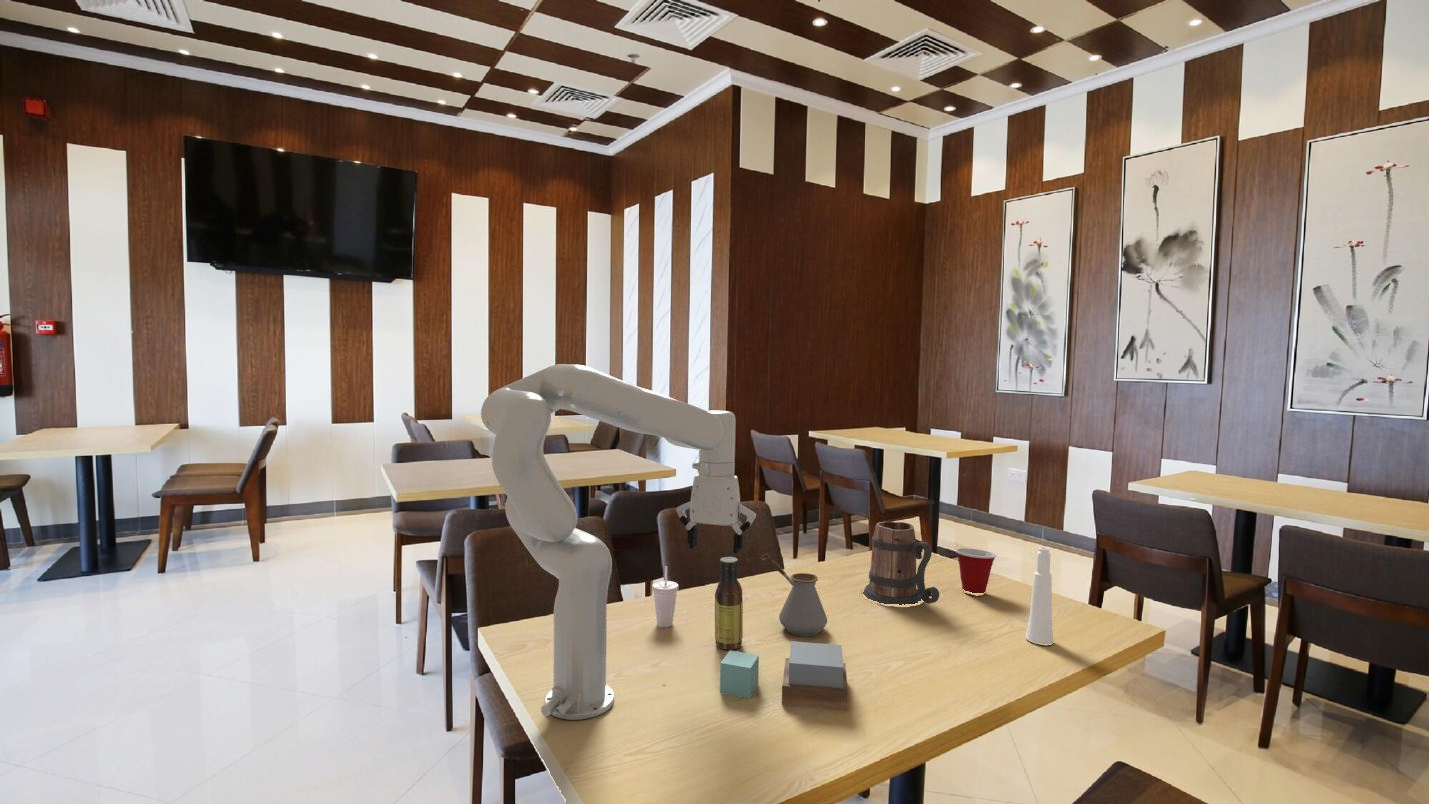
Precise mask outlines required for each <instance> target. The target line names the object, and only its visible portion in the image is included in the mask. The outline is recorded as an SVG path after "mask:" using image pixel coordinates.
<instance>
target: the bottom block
mask: <svg viewBox="0 0 1429 804" xmlns="http://www.w3.org/2000/svg"><path fill="white" fill-rule="evenodd" d="M789 660H790V657H785V659H784V661H785V662H784V666H783V667H784V669H783V676H782V684H781V685H782V686H781V705H785V706H792V707H795V706H796V707H804V708H814V709H822V710H823V709H824V710H826V709H827V710H834V711H844V712H847V711H848V698H849V690H848V678H847V668H846V667H847V666H846V663H845V662H843V666H844V672H843V689H842V688H831V687H819V686H808V685H797V684H789Z"/></svg>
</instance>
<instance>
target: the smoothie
mask: <svg viewBox="0 0 1429 804" xmlns="http://www.w3.org/2000/svg"><path fill="white" fill-rule="evenodd" d="M651 587H652V588H651V590H652V591H653V598H654V599H653V600H654V607H655V615H656V616H655V617H656V618H655V619H656V625H657V627H660V628H668V627H669V626H670V627H671V626H673V622H674V616H675V615H674V614H675V609H676V607H675V606H676V602H677V601H676V600H677V595H678V594H677V593H678V591H679V589H680V588H679V584H678V583H677V582H676V581H671V580H668V566H667V565H666V566H664V580H659V581H656V582H654V583H653V584H652V586H651Z"/></svg>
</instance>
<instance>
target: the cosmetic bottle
mask: <svg viewBox="0 0 1429 804" xmlns="http://www.w3.org/2000/svg"><path fill="white" fill-rule="evenodd" d="M1035 568H1036V571H1034V573H1033V580H1032V590H1031V600H1030V609H1029V618H1028V622H1027V623H1028V625H1027V628H1026V634H1025V637H1026V638H1027V639H1028V640H1030V641H1032V642H1034V643H1038V644H1053V643H1054V644H1055V641H1054V633H1053V619H1052V618H1053V616H1052V615H1053V612H1052V611H1053V607H1052V606H1053V605H1052V604H1053V603H1052V598H1053V594H1052V593H1053V591H1052V588H1053V587H1052V586H1053V585H1052V584H1053V583H1052V577H1053V576H1052V573H1050V570H1051V553H1050V548H1048V547H1044V546H1041V547H1038V551H1037V552H1036V567H1035ZM1054 644H1053V645H1054Z"/></svg>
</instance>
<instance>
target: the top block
mask: <svg viewBox="0 0 1429 804" xmlns="http://www.w3.org/2000/svg"><path fill="white" fill-rule="evenodd" d="M789 649H790V650H789V658H790V660H789V684H797V685H808V686H819V687H831V688H842V689H843V672H844V666H843V663H844V660H843V659H844V658H843V649H842V645H841V644H831V643H819V642H803V641H791V640H790V648H789Z"/></svg>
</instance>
